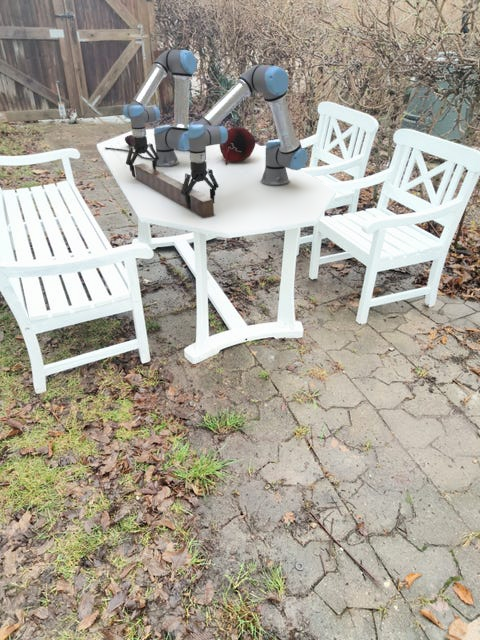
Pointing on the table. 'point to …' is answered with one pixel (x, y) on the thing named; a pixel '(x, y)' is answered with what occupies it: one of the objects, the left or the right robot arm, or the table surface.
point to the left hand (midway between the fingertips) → (144, 174)
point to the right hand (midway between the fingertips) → (200, 205)
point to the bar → (174, 190)
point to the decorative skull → (238, 145)
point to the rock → (129, 140)
